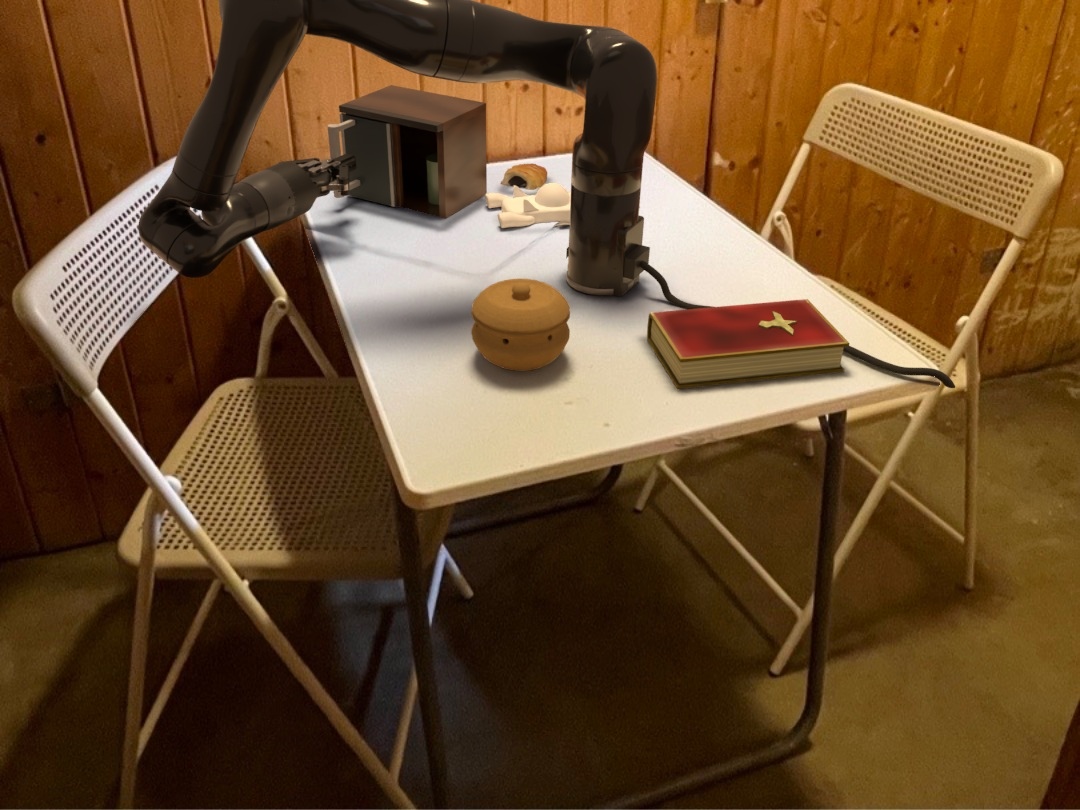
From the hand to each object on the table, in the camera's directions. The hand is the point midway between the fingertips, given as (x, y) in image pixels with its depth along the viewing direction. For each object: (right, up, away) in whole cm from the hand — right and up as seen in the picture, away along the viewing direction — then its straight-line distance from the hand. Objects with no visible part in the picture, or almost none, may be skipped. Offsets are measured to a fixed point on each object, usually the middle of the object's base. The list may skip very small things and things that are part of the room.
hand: (351, 160), depth 150 cm
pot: (+26, -31, -28) cm, 49 cm away
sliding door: (0, -5, +8) cm, 9 cm away
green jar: (+12, -4, +11) cm, 17 cm away
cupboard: (+9, -3, +14) cm, 16 cm away
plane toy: (+30, -7, +9) cm, 32 cm away
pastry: (+26, 0, +20) cm, 33 cm away
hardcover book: (+53, -30, -26) cm, 66 cm away
